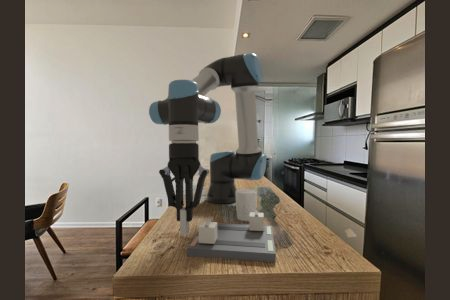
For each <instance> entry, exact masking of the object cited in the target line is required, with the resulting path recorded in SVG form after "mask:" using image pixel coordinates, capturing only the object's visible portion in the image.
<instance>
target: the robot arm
mask: <svg viewBox="0 0 450 300" xmlns="http://www.w3.org/2000/svg"><path fill="white" fill-rule="evenodd" d="M263 75H264V74H263V68H262V63H261V60H260V59H259V57H258V54H255V53H253V52H252V53H241V54H236V55H233V56H226V57H222V58H219V59H217V60H214V61H212V62H210V63H209V64H208V65H206V66H205V67H203V68H201V70H200V71H199V73H198V75H196V76H195V77H194V78H193V79H190V80H189V79H176V80H175V79H174V80H172V81H170V82H169V84H168V90H167V91H168V94H167V98H165V99H163V100H158V101H157V100H156V101H153V102H152V103H151V104H150V105H149V108H148V114H149V117H150V120H151V121H152V122H153V123H154V124H156V125H164V126H166V125H168V141H169V142H171V143H169V144H168V162H167V166H166V167H164V168H162V169H160V170H158V173H159V175H160V176H161V179H162V181H163V184H164V185H163V186H164V189H165V192H166V198H167V203H168V206H170V207H171V208H172V207H173V208H175V210H176V221H177V222H179V227H180V228H179V229H180V230H179V233H180V234H179V235H180V236H185V237H186V236H187V235H188V233H189V232H190V223H191V221H193V217H194V215H193V209H194V208H197V207H198V206H199V205H200V202H201V199H202V195H203V194H202V193H203V189H204V185H205V180H206V178H207V176H208V175H209V174H210V175H209V176H210V178H209V180H210V182H209V188H208V189H207V193H206V201H207V202H209V203H211V204H212V203H213V204H230V203H232V204H233V203H236V196H235V191H236V190H237V188H236V184H235V180H246V181H260V180H262V179H263V178H264V175H265V172H266V169H267V155H266V154H265V153H263V152H262V148H261V147H259V138H258V124H257V123H258V122H257V120H258V119H257V103H256V100H257V99H256V91H257V90H258V88H259V83H261V82H262V81H263ZM226 86H230V89H231V91H233V92H234V99H235V112H236V122H237V124H236V126H237V139H238V140H237V141H238V148H237V149H235V151H234V150H229V151H222V152H221V151H220V152H214V153H211V154H210V159H209V169H208V168H204V167H203V166H202V165H201V162H200V158H199V156H200V155H199V154H200V153H199V152H200V151H199V150H200V149H199V144H198V143H197V142H198V141H199V139H200V138H199V124H202V123H203V124H205V125H206V124H213V123H215V122H217V121H218V120H219V118H220V116H221V115H222V114H221V112H222V109H221V106H220V104H219V102H218V101H216V100H215V99H213V98H212V97H208V96H206V95H207V94H208V93H209V92H210V91H214V90H216V89H217V88H220V87H226ZM197 172H198V176H199V177H198V179H197V184H196V187H195V192H193V191H194V189H193V188H194V184H193V183H194V177H195V175H196V174H197ZM171 174H172V175H173V176H174V183H175V189H174V184H173V180H172V176H171ZM184 184H185V185H184ZM184 186H185V190H184ZM184 192H185V193H184ZM184 194H185V196H184ZM184 197H185V203H184Z"/></svg>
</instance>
